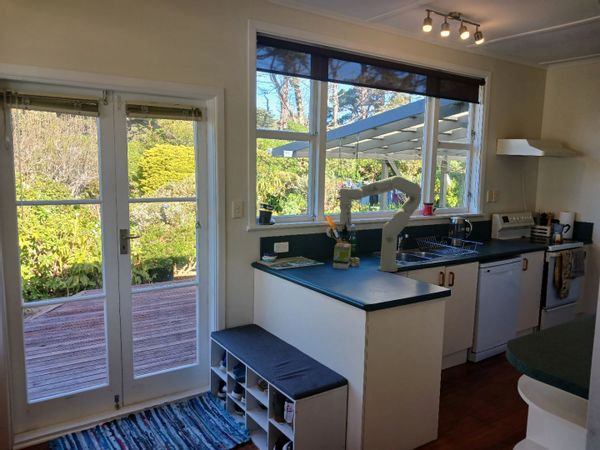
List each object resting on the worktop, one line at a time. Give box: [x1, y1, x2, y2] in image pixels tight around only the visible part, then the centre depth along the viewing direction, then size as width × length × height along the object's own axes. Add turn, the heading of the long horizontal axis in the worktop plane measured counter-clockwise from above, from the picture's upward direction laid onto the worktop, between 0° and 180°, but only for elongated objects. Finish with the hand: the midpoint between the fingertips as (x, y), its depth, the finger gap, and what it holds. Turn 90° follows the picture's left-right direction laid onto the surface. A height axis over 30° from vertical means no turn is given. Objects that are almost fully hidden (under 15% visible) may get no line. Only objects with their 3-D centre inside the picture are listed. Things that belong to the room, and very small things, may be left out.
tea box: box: [332, 242, 352, 270], centre depth 300 cm, size 15×10×15 cm
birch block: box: [349, 256, 360, 267], centre depth 306 cm, size 5×5×5 cm
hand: (344, 234), depth 298 cm, fingers closed
